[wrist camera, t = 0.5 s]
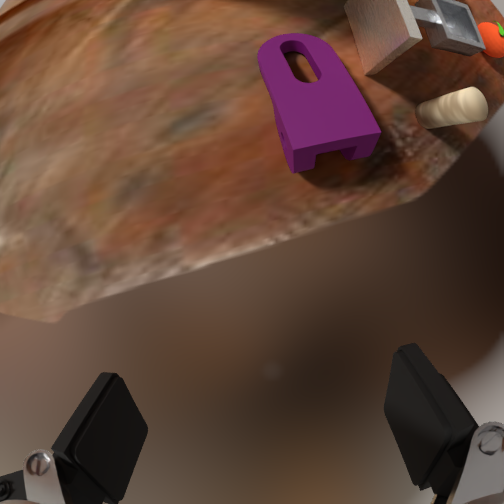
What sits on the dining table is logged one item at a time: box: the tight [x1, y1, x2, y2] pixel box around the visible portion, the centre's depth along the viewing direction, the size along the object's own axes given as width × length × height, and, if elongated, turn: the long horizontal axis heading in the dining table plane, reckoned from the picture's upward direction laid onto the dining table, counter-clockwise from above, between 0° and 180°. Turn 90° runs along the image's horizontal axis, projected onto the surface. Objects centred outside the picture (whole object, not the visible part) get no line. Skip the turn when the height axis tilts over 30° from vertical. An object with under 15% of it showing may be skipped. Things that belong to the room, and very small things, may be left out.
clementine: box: [477, 21, 504, 58], centre depth 23 cm, size 8×7×7 cm
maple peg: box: [415, 87, 488, 129], centre depth 26 cm, size 4×4×12 cm
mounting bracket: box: [258, 33, 381, 173], centre depth 31 cm, size 10×8×18 cm
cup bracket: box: [344, 0, 486, 75], centre depth 22 cm, size 12×15×14 cm
